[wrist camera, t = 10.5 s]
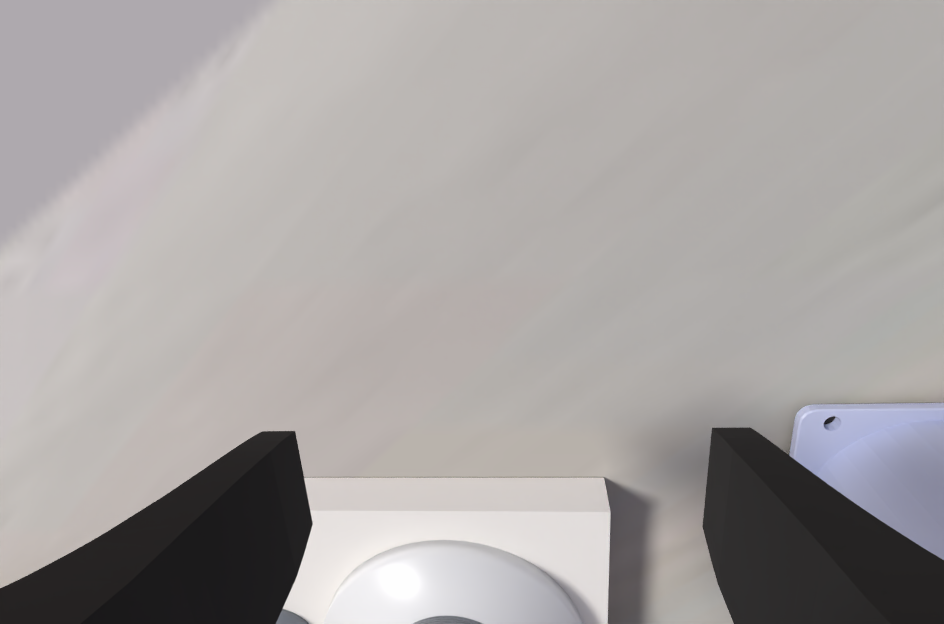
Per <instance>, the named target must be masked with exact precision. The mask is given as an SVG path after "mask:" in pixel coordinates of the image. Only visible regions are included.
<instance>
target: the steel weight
mask: <svg viewBox="0 0 944 624" xmlns="http://www.w3.org/2000/svg"><path fill="white" fill-rule="evenodd" d="M413 624H482V623H480V622H478V621H475V620H472V619H469V618H465V617H459V616H434V617H429V618H425V619H422V620H419V621H417V622H415V623H413Z"/></svg>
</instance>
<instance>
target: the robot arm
mask: <svg viewBox="0 0 944 624" xmlns="http://www.w3.org/2000/svg"><path fill="white" fill-rule="evenodd" d="M833 416H835V419H834V421H832V422H831V423H829V424H824V422H825V420H826V419H827V418H829V417H833ZM312 525H313V522H312V517H311V512H310V507H309V502H308V496H307V491H306V486H305V481H304V476H303V470H302V465H301V460H300V455H299V450H298V444H297V439H296V434H295V431H267V432H261V433H259V434H257V435H255V436H253V437H252V438H250V439H248V440H247V441H245V442H244V443H242V444H241V445H239V446H238V447H236V448H235V449H233V450H231V451H230V452H229V453H227V454H226V455H224V456H223V457H221V458H220V459H218V460H217V461H215V462H214V463H212V464H211V465H209V466H208V467H207V468H205V469H204V470H202V471H201V472H199V473H198V474H196V475H195V476H193V477H192V478H190V479H189V480H187V481H186V482H184V483H183V484H181V485H180V486H178V487H177V488H175V489H174V490H172V491H171V492H170V493H168V494H167V495H165V496H164V497H162V498H160V499H159V500H157V501H156V502H154V503H152V504H151V505H149V506H148V507H146V508H144V509H143V510H141V511H140V512H138V513H136V514H135V515H133V516H132V517H130V518H128V519H127V520H125V521H124V522H122V523H121V524H119V525H117V526H116V527H114V528H113V529H111V530H109V531H108V532H106V533H104V534H103V535H101V536H99V537H98V538H96V539H94V540H92V541H91V542H89V543H87V544H85V545H84V546H82V547H80V548H78V549H77V550H75V551H73V552H71V553H69V554H67V555H66V556H64V557H62V558H60V559H58V560H56V561H54V562H52V563H51V564H49V565H47V566H45V567H43V568H41V569H39V570H37V571H35V572H34V573H32V574H30V575H28V576H26V577H24V578H22V579H20V580H18V581H15V582H13V583H11V584H9V585H7V586H5V587H3V588H0V624H276V622H277V620H278V618H279V616H280V613H281V611H282V609H283V607H284V604H285V602H286V600H287V598H288V596H289V593H290V591H291V589H292V587H293V584H294V582H295V580H296V577H297V574H298V571H299V568H300V565H301V562H302V559H303V556H304V553H305V549H306V546H307V542H308V539H309V535H310V532H311V528H312ZM703 530H704V534H705V538H706V541H707V545H708V549H709V553H710V557H711V561H712V564H713V568H714V571H715V575H716V578H717V582H718V585H719V587H720V590H721V593H722V595H723V598H724V600H725V603H726V605H727V608H728V610H729V612H730V615H731V617H732V620H733V622H734V624H944V403H895V404H813V405H807V406H805V407H803V408H801V409H800V410H799V411H798V412H797V414H796V417H795V421H794V428H793V434H792V441H791V448H790V454H789V455H788V454H786V453H785V452H784V451H782V450H781V449H780V448H778V447H777V446H776V445H774V444H773V443H772V442H770V441H769V440H767V439H766V438H765V437H763V436H762V435H760V434H759V433H758V432H756V431H755V430H753V429H751V428H712V435H711V445H710V456H709V466H708V476H707V487H706V497H705V508H704V518H703Z"/></svg>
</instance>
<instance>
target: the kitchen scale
mask: <svg viewBox="0 0 944 624" xmlns="http://www.w3.org/2000/svg"><path fill="white" fill-rule="evenodd" d="M304 481H305V486H306V491H307V496H308V502H309V507H310V512H311V517H312V522H313V525H312V528H311V532H310V535H309V539H308V542H307V546H306V549H305V553H304V556H303V559H302V562H301V565H300V568H299V571H298V574H297V577H296V580H295V582H294V584H293V587H292V589H291V591H290V593H289V596H288V598H287V600H286V602H285V604H284V607H283V609H282V611H281V613H280V616H279V618H278V620H277V622H276V624H413V623H415V622H417V621H419V620H422V619H425V618H429V617H434V616H459V617H465V618H469V619H472V620H475V621H478V622H480V623H482V624H607V623H608V587H609V550H610V514H611V512H610V506H609V501H608V496H607V491H606V485H605V480H604V478H304Z"/></svg>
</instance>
